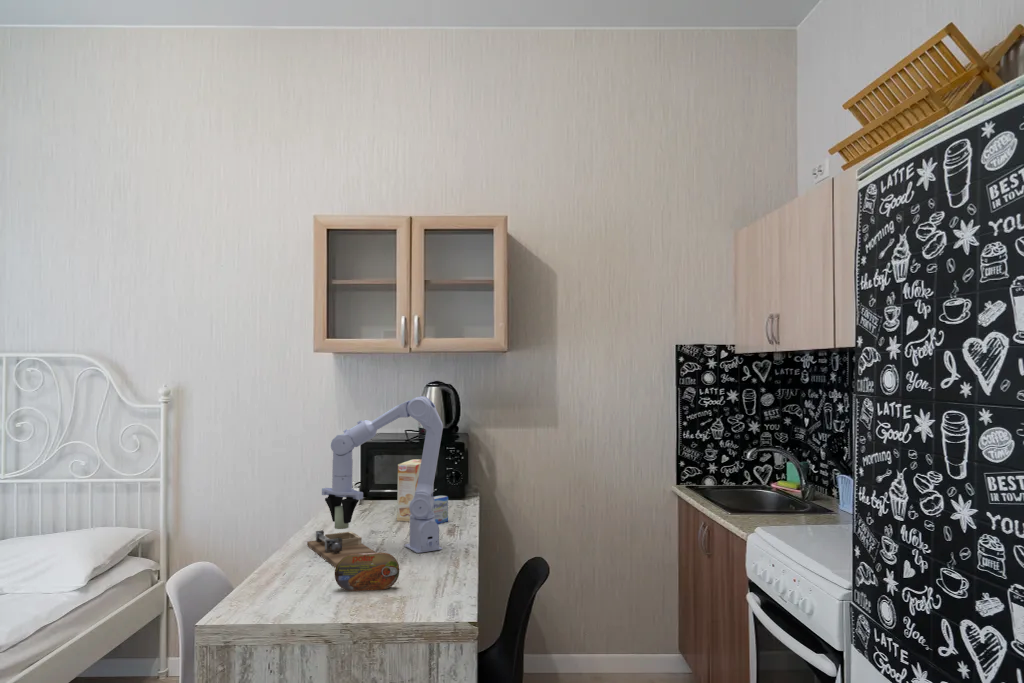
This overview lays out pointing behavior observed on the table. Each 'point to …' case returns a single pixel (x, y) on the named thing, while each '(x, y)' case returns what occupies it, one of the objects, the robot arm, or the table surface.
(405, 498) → the coffeecake box
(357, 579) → the tin
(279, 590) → the table surface
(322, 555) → the walnut base with seat
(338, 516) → the cylinder
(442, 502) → the medicine box
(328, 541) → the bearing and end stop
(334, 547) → the steel shaft
